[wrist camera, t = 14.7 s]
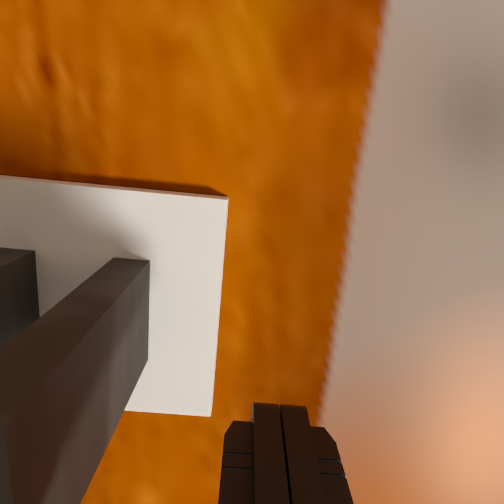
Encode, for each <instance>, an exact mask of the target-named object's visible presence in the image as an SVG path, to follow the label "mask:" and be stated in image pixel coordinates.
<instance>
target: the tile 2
mask: <svg viewBox="0 0 504 504" xmlns="http://www.w3.org/2000/svg"><path fill="white" fill-rule="evenodd" d="M38 318H40V314H39V300H38V285H37V271H36V256H35V250H24V249H13V248H2V247H0V349H2V348H3V347H4V346H5V345H7V344H8V343H9V342H10V341H11V340H13V339H14V338H15V337H16V336H18V335H19V334H20V333H21V332H23V331H24V330H25V329H26V328H27V327H29V326H30V325H31V324H32V323H34V322H35V321H36V320H37V319H38Z"/></svg>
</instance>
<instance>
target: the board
mask: <svg viewBox="0 0 504 504" xmlns="http://www.w3.org/2000/svg"><path fill="white" fill-rule="evenodd" d="M228 200H229V197H226V196H215V195H205V194H194V193H184V192H173V191H163V190H152V189H142V188H131V187H121V186H110V185H100V184H89V183H79V182H68V181H58V180H47V179H37V178H26V177H16V176H5V175H0V247H2V248H13V249H24V250H35V256H36V271H37V285H38V300H39V314H40V317H41V316H42V315H43V314H45V313H46V312H47V311H48V310H50V309H51V308H52V307H53V306H54V305H56V304H57V303H58V302H59V301H61V300H62V299H63V298H64V297H66V296H67V295H68V294H69V293H70V292H72V291H73V290H74V289H75V288H77V287H78V286H79V285H80V284H81V283H83V282H84V281H85V280H86V279H88V278H89V277H90V276H91V275H93V274H94V273H95V272H96V271H97V270H99V269H100V268H101V267H102V266H104V265H105V264H106V263H107V262H108V261H110V260H111V259H112V258H113V257H115V258H127V259H138V260H150V289H149V337H148V361H147V363H146V365H145V367H144V369H143V371H142V374H141V376H140V378H139V380H138V382H137V384H136V386H135V388H134V390H133V393H132V395H131V397H130V399H129V401H128V403H127V405H126V407H125V411H139V412H153V413H167V414H180V415H194V416H208V417H211V410H212V403H213V390H214V378H215V365H216V352H217V340H218V327H219V314H220V301H221V289H222V276H223V263H224V251H225V238H226V225H227V212H228Z"/></svg>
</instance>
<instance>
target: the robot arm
mask: <svg viewBox="0 0 504 504" xmlns="http://www.w3.org/2000/svg"><path fill="white" fill-rule="evenodd" d="M218 504H353V500H352V497H351V493H350V490H349V486H348V483H347V479H346V478H345V473H344V469H343V466H342V464H341V459H340V455H339V452H338V449H337V445H336V442H335V441H334V440H333V438H332V437H331V436H330V434H329V433H328V432H327V431H326V429H325V428H324V427H312V426H310V422H309V418H308V413H307V409H306V407H305V406H295V405H282V404H280V405H278V404H268V403H255V402H253V404H252V412H251V421H250V422H245V421H233V422H232V424H231V425H230V427H229V428H228V430H227V431H226V433H225V435H224V446H223V457H222V468H221V479H220V490H219V501H218Z"/></svg>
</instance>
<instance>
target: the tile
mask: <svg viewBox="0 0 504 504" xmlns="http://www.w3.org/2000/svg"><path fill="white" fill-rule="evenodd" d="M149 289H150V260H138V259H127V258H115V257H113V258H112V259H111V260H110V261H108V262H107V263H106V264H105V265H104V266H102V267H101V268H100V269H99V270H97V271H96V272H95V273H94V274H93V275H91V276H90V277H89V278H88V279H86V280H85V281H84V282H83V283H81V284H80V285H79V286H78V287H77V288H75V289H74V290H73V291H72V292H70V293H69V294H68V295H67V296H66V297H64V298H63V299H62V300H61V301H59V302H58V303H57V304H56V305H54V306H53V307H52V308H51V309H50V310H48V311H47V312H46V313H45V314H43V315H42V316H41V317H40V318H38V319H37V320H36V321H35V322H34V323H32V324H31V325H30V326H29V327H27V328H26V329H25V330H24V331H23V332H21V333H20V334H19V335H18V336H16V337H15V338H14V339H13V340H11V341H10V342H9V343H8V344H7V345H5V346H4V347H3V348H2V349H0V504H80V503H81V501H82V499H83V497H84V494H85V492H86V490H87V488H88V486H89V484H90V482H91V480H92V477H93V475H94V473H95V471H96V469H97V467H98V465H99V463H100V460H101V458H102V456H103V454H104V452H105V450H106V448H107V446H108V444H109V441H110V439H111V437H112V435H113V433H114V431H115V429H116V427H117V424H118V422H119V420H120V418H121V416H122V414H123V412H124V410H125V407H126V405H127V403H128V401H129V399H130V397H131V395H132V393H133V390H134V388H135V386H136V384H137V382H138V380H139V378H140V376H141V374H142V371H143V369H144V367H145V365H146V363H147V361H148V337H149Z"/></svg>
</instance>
